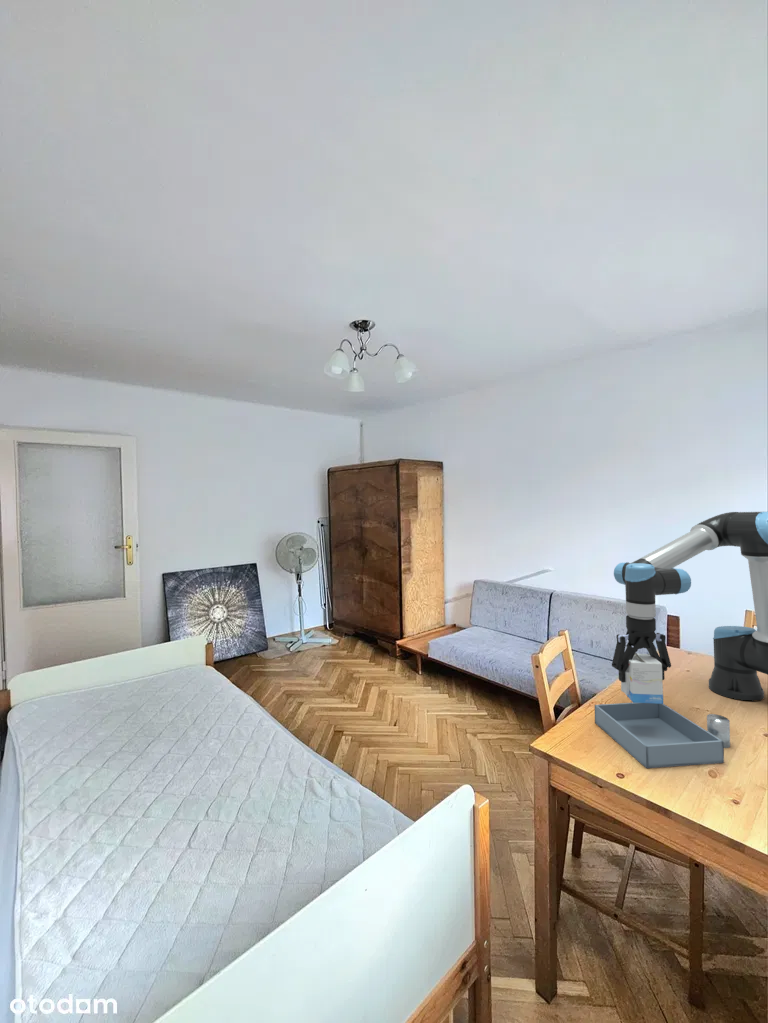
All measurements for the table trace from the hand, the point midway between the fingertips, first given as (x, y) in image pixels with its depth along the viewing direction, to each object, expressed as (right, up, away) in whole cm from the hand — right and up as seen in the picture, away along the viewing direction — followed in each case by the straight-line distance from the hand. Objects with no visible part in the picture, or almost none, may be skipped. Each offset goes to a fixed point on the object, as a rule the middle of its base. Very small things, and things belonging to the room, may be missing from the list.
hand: (641, 691), depth 125 cm
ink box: (0, -2, 0) cm, 2 cm away
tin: (+18, -12, -6) cm, 22 cm away
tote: (+1, -12, -4) cm, 13 cm away
